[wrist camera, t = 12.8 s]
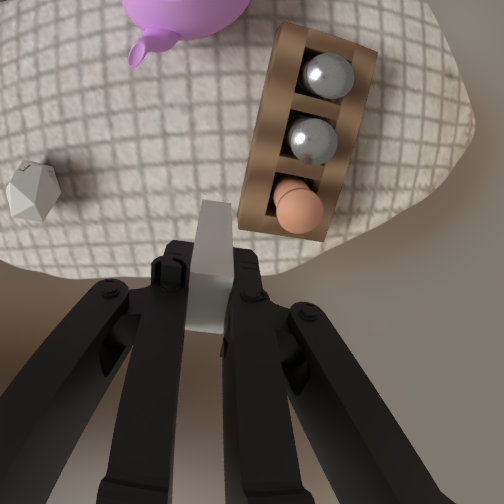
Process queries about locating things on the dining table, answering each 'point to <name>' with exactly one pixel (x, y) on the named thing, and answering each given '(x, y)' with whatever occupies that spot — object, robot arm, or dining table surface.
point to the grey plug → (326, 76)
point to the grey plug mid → (311, 139)
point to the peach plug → (296, 205)
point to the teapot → (177, 22)
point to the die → (33, 191)
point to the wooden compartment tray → (275, 120)
